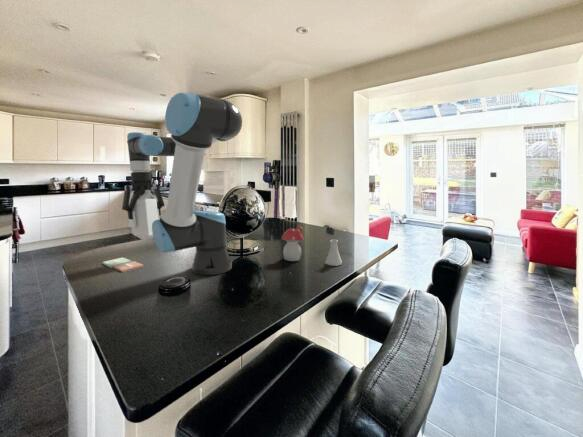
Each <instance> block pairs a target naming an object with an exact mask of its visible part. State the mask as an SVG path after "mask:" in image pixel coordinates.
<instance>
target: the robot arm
mask: <svg viewBox="0 0 583 437" xmlns="http://www.w3.org/2000/svg"><path fill="white" fill-rule="evenodd" d="M164 117H165V118H164V119H165V127H166V129H167V131H168V133H169V134H171V135H170V137H168V136H157V135H155V134H147V133H146V132H134V131H133V132H128V133H127V141H126V143H127V149H128V151H127V152H128V158H129V168H130V171H131V172H130V180H131V184H130V185H124V187H123V189H124V195H123V201H122V207H121V209H122V211H126V212H127V217H128V220H130V225H131V227H132V228H133V227H136V218H135V211H133V209H134V206H135V204H136V201H137V199H138V197H139V196H140V194H144V193H145V190H150V192H151V194H152V195H153V196H154V197H155V198H156V200H157V211H158V220H155V221H154V222H153V223H152V233H153V235H152V236H153V240H154V242H155V245H156V246H157V248H158V249H159V251H161V252H162V253H173V252H177V251H183V250H186V249H192V248H195V254H194V259H193V261H192V265H191V267H192V270H191V271H192V272H193V274H195V275H200V276H213V275H214V276H215V275H221V274H224V273H226V272H228V271H231V269H232V267H233V265H232V260H231V257H230V254H229V251H228V248H227V229H226V228H227V227H226V225H227V222H226V215H225V214H224V213H222V212H220V211H210V210H194V209H195V204H196V200H197V194H198V189H199V184H200V178H201V173H202V168H203V162H204V158H205V154H206V150H209V149H210V148H211V147H212V144H214V143H216V142H227V141H229V140H232V139H233V138H235V137H237V136H238V135H239V133H241V130H242V127H243V118H242V117H243V116H242V114H241V112H240V110H239V109H238V107H237V106H236V105H234V104H233V102H230V101H228V100H227V99H222V98H217V97H211V96H206V95H201V94H196V93H194V92H193V93H192V92H190V93H189V92H188V93H187V92H177V93H175V94H174V95H173V96H172V97H171V98H170V99H169V101H168V104H167V106H166V110H165V116H164ZM151 157H173V162H172V169H171V176H170V183H169V190H168V196H167V202H166V203H167V204H166V208H165V209H162V208H163V207H165V203H164V202H165V201H164V199H163V196H162V194H161V191H160V190H161V189H160V188H161V187H160V184H156V183H155V184H153V181H152V179H153V178H152V172H150V171H152V169H151V167H152V166H151ZM152 189H153V191H154V193H153V191H152ZM132 190H133V193H132V196H131V192H132ZM154 194H155V195H154ZM131 198H132V199H131ZM151 198H153V197H151ZM130 200H131V201H130ZM161 210H162V211H161Z"/></svg>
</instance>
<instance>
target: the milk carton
mask: <svg viewBox="0 0 583 437" xmlns="http://www.w3.org/2000/svg"><path fill="white" fill-rule="evenodd" d="M153 195H154V194H153ZM153 195H152V194H151V192H150V190H145V193H144V194H140V196H139V197H138V199H137V201H136V204H135V206H134V209H133V211H135V218H136V227H132V228H133V230H132V231H133V236H134V237H135V236H136V237H137V236H138V237H151V236H153V233H152V223H153V222H154V221H155V220H158V211H157V201H158V200H157V197H156V196H155V195H154V196H153ZM151 197H153V198H151ZM131 199H132V197H130V199H129V202H130V201H131Z"/></svg>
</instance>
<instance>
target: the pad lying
mask: <svg viewBox="0 0 583 437" xmlns="http://www.w3.org/2000/svg"><path fill="white" fill-rule="evenodd" d="M143 267H144V264H142V263H140V262H138V261H135V260H134V261H133V260H132V261H131V262H128V263H124V264H120V265H116V266H114V267H113V269H114V270H115V269H116V270H117V271H119V272H121V273H126V272H129V271H133V270H136V269H139V268H143Z"/></svg>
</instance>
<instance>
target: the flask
mask: <svg viewBox="0 0 583 437" xmlns="http://www.w3.org/2000/svg"><path fill="white" fill-rule="evenodd" d="M338 241H339V240H338V239H331V240H329V243H330V248H329V251H328V254H327V257H326V259H325V261H324V265H327V266H331V267H338V266H342V265H343V261H342V258H341V255H340V253H339V248H338V243H339V242H338Z"/></svg>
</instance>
